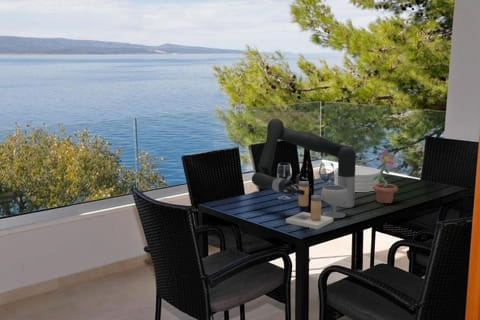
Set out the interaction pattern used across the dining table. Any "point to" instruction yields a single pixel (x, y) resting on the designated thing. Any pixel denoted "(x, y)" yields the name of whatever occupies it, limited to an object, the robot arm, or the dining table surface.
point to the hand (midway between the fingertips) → (307, 192)
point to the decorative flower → (384, 189)
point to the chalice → (334, 199)
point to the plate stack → (362, 178)
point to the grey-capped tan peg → (304, 198)
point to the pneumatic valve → (298, 179)
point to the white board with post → (311, 216)
